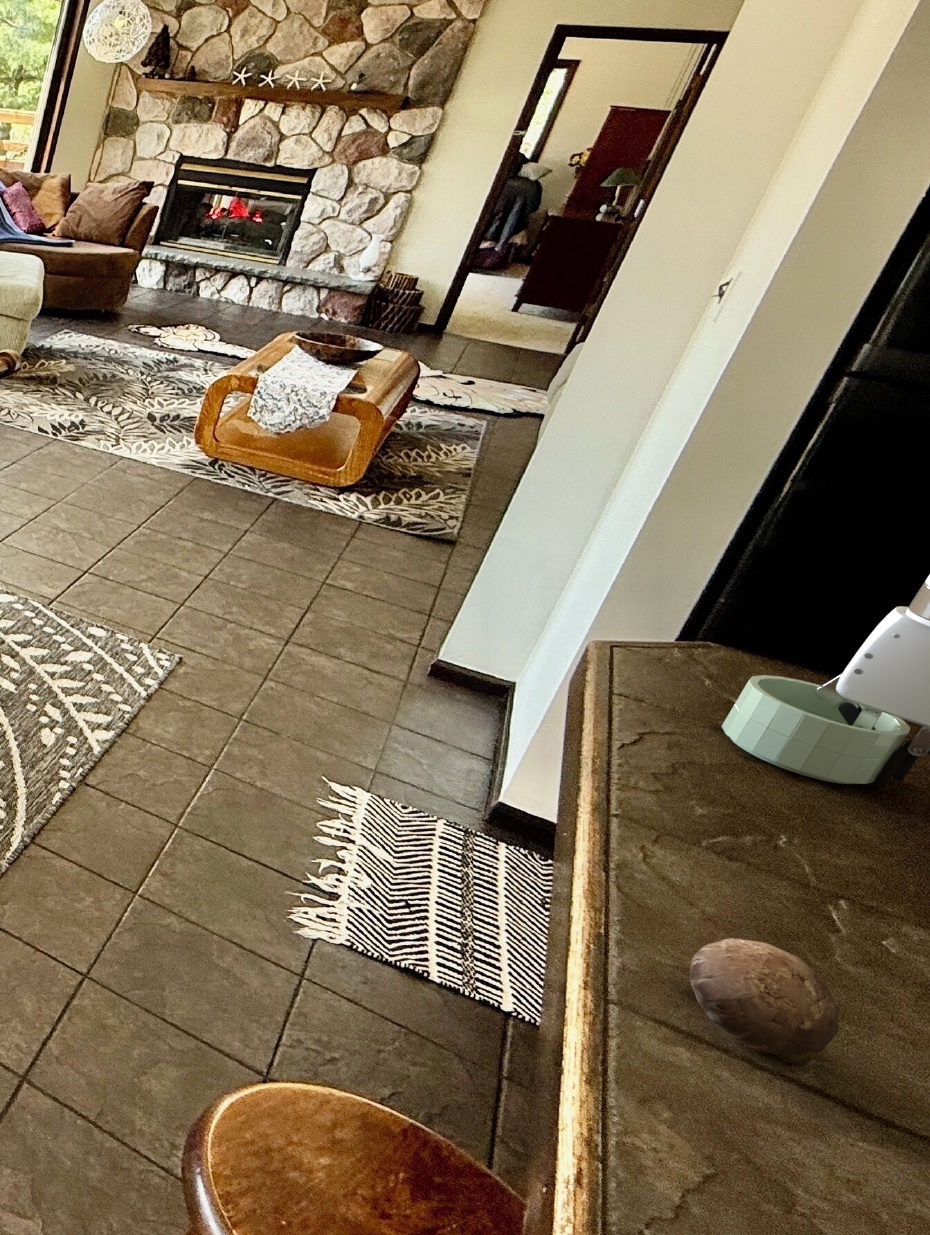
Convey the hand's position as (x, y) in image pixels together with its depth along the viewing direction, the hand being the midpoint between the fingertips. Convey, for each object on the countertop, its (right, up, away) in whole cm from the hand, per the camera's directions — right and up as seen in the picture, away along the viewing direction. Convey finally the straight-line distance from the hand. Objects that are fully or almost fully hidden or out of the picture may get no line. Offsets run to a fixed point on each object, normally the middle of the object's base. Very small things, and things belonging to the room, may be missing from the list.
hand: (865, 773), depth 105 cm
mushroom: (-48, -11, -32) cm, 58 cm away
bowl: (-3, +1, +4) cm, 5 cm away
